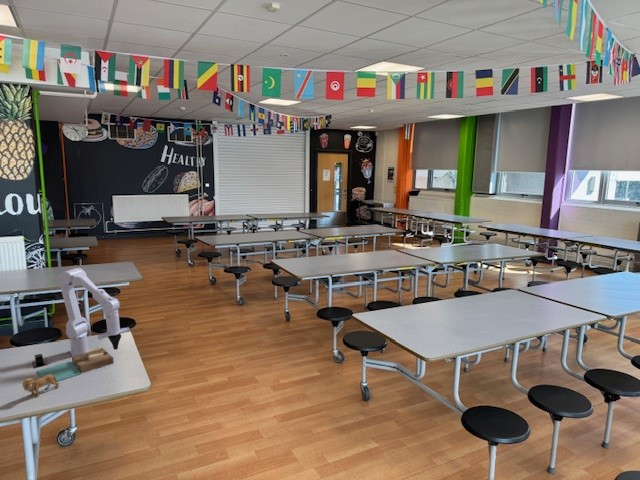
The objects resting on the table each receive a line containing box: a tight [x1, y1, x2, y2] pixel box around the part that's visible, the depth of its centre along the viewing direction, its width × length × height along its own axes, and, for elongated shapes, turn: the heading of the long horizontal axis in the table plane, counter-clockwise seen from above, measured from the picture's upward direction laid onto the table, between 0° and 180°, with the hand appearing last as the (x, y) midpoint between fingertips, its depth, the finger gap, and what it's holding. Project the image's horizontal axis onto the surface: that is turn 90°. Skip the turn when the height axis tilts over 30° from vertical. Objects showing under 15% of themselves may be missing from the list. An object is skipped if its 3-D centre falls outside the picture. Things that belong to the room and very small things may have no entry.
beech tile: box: [85, 347, 104, 361], centre depth 207 cm, size 9×6×2 cm, turn 44°
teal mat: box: [36, 360, 82, 386], centre depth 197 cm, size 18×14×1 cm
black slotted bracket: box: [31, 353, 48, 369], centre depth 207 cm, size 12×7×5 cm, turn 40°
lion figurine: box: [22, 375, 60, 398], centre depth 179 cm, size 15×5×9 cm, turn 159°
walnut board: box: [71, 347, 114, 374], centre depth 206 cm, size 16×14×3 cm
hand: (115, 348), depth 213 cm, fingers closed
